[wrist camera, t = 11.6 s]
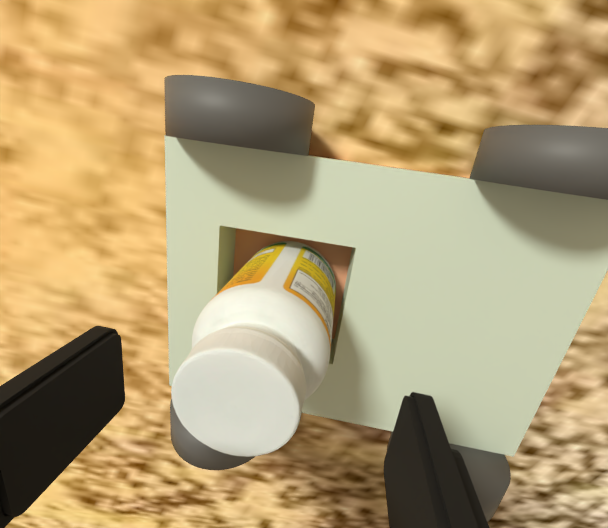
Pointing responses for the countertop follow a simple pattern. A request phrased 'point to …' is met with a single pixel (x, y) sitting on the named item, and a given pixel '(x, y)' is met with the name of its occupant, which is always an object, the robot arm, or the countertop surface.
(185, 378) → the supplement bottle
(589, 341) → the countertop surface
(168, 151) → the chassis
